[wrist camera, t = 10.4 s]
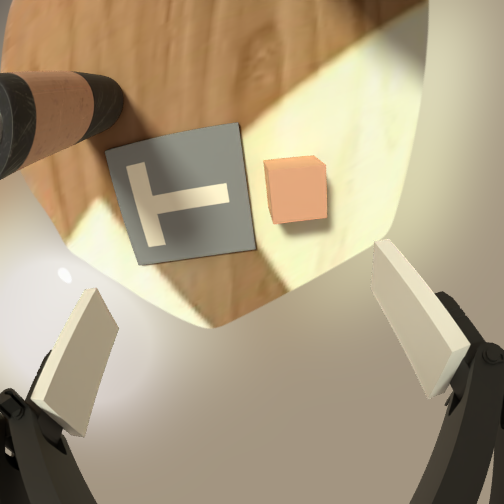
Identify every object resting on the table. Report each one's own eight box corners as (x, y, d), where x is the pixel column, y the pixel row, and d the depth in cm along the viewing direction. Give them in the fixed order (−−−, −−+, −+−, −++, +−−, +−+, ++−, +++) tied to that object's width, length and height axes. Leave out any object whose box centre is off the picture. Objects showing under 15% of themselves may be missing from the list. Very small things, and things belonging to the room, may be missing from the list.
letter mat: (238, 122, 31) (238, 122, 30) (255, 246, 39) (255, 249, 38) (106, 150, 31) (104, 151, 30) (139, 263, 39) (138, 265, 38)
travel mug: (138, 96, 28) (34, 110, 11) (100, 146, 31) (-8, 211, 13) (95, 62, 25) (-25, 54, 8) (60, 112, 28) (-60, 151, 10)
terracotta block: (313, 155, 33) (325, 164, 29) (315, 201, 36) (327, 217, 32) (263, 160, 33) (268, 170, 29) (268, 207, 36) (273, 224, 32)
